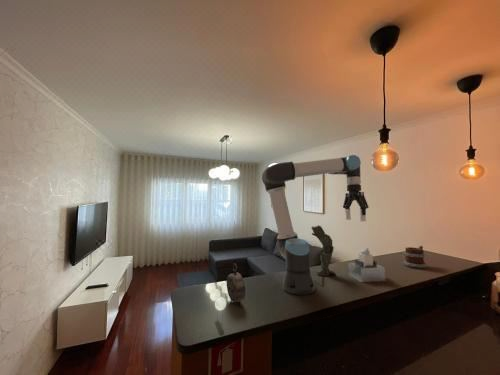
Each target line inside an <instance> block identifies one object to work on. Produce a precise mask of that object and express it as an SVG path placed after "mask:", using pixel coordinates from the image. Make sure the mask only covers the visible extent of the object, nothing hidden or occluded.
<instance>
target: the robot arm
mask: <svg viewBox="0 0 500 375" xmlns="http://www.w3.org/2000/svg"><path fill="white" fill-rule="evenodd" d="M361 164H362V161H361V158H360V157H359V156H358V155H355V154H352V155H348V156H345V157H343V156H342V157H336V158H327V159H318V160H312V161H311V160H310V161H303V162H302V161H301V162H293V161H285V162H284V161H283V162H276V163H275V162H274V163H271V164H269V165H268V166H267V168H265V169H264V171H263V172H262V175H261V181H262V183H263V185H264V187H265V192H266V193H268V194H269V197H270V201H271V207H272V211H273V216H274V218H275V223H276V228H277V233H278V235H277V237H276V241H277V250H278V253H279V254H280V256H281V257H282V258H283V259H285V275H284V278H283V281H282V289H283V291H284V292H287V293H288V294H293V295H298V296H299V295H300V296H306V295H310V294H312V293H315V284H314V281H313V278H312V275H311V259H310V258H311V256H310V254H311V253H310V245H309V244H310V243H309V242H308V241H307V240H306V239H302V238H299V237H298V233H297V232H295V231H294V227H293V223H292V218H291V214H290V211H289V207H288V202H287V198H286V194H285V189H286V187H287V186H286V182H288V181H295V180H296V178H304V177H310V176H318V175H325V174H326V175H327V174H328V175H346V191H347V192H348V193H345V196H344V200H343V201H344V202H343V206H342V209H344V211H345V220H347V221H350V220H352V218H351V207H352V204H353V202H354V201H356V203H357V205H358V206H359V217H360V218H359V219H360V222H366V220H367V219H366V217H367V216H366V215H367V209H369V207H370V206H369V205H368V201H367V199H366V197H365V192H364V191H362V184H361V182H362V181H361V180H362V179H361Z"/></svg>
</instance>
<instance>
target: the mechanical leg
mask: <svg viewBox="0 0 500 375" xmlns="http://www.w3.org/2000/svg"><path fill="white" fill-rule="evenodd" d="M311 230H312V233H311V235H312V236H315V237H316V238H317V239H318V240H319V243H321V245H322V251H321V252H320V253H319V259H320V262H321V264H320V266H319V268H317V269H315V274H316V275H317V277H318V276H320V277H321V276H328V277H333V276H334V277H337V274H336V272H334V270H330V269H329V268H330V267H329V266H330V265H331V261H332V256H333V252H334V249H335V248H334V246H333V238H331V236H330V235H329V234H327V233H326V232H325V231H324V229H323V227H322V226H321V225H315V226H314V225H313V226H311Z"/></svg>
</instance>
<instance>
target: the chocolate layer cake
mask: <svg viewBox="0 0 500 375" xmlns="http://www.w3.org/2000/svg"><path fill="white" fill-rule="evenodd" d="M423 248H424V246H423V245H419V246H418V247H413V246H411V247H409V246H408V247H405V251H404V252H403V255H405V260H404V261H403V264H404V265H405V267H406V266H407V268H408V269H409V268H410V267H411V268H410V269H413V268H414V270H425V269H426V268H427V263H426V262H425V259H424V258H425V256H426V255H425V253H424V249H423Z"/></svg>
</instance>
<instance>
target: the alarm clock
mask: <svg viewBox="0 0 500 375" xmlns="http://www.w3.org/2000/svg"><path fill="white" fill-rule="evenodd" d="M232 269H233V273H230V274H229V275H227V278H226V291H227V295H228V298H229V299H230V302H229V304H230V305H231V303H232V302H233V303H237V302H239V304H240V308H241V307H243V304H242V301H244V299H245V298H246V285H245V281H244V278H243V276H242V274H241V273H239V272H238V265H237V264H236V263H233V265H232Z"/></svg>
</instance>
